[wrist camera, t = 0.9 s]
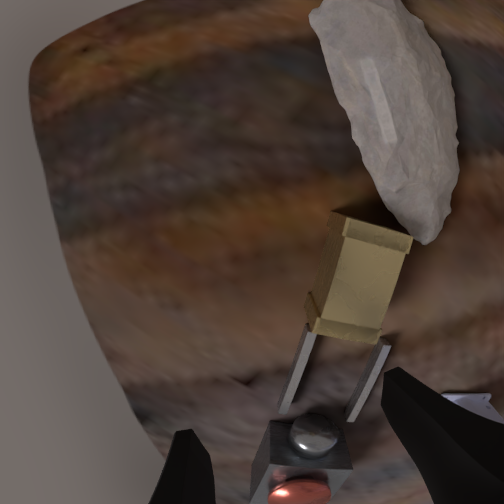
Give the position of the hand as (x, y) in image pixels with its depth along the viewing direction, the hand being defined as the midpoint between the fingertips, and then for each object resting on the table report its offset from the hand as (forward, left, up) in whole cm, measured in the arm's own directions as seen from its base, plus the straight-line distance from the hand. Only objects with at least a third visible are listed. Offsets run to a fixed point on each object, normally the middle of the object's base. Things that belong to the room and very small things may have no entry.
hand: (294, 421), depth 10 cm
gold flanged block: (-5, -3, -15) cm, 16 cm away
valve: (-7, +13, -15) cm, 21 cm away
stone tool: (-5, -18, -16) cm, 24 cm away
